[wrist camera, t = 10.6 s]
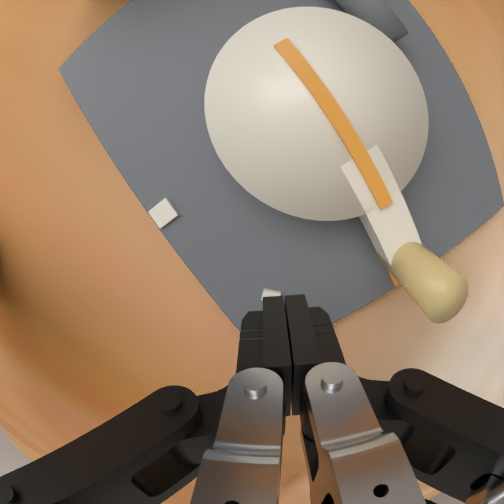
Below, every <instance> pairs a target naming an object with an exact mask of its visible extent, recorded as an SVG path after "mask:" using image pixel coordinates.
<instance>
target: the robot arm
mask: <svg viewBox="0 0 504 504" xmlns="http://www.w3.org/2000/svg"><path fill="white" fill-rule="evenodd" d="M291 406H292V415H300V420H301V431H300V437H301V442H302V447H303V452H304V457H305V462H306V468H307V473H308V478H309V484H310V502H311V504H436V503H434V502H432V501H429V500H427V499H424V497H423V494H422V492H421V489H420V487H419V484H418V482H417V479H418V480H420V481H421V482H423V483H425V484H427V485H429V486H431V487H433V488H435V489H437V490H439V491H441V492H443V493H445V494H447V495H449V496H451V497H454V498H456V499H458V500H460V501H462V502H464V503H465V504H504V408H502V407H500V406H497V405H495V404H493V403H491V402H489V401H486V400H484V399H482V398H480V397H478V396H475V395H473V394H471V393H469V392H467V391H465V390H462V389H460V388H458V387H456V386H454V385H452V384H450V383H448V382H445V381H443V380H441V379H439V378H437V377H435V376H433V375H431V374H429V373H427V372H425V371H422V370H419V369H414V368H409V369H403V370H401V371H398V372H397V373H395V374H394V375H393V376H392V378H391V380H390V381H377V380H368V379H364V378H361V377H359V376H358V375H357V374H356V372H355V371H354V370H353V369H352V368H351V367H349V366H347V365H346V363H345V360H344V357H343V354H342V351H341V348H340V345H339V342H338V339H337V337H336V334H335V331H334V328H333V326H332V322H331V320H330V317H329V314H328V313H327V312H326V311H324V310H323V309H322V308H321V307H309V308H308V304H307V301H306V297H305V294H299V295H284V300H283V296H268V297H263V311H248V313H247V314H246V315H245V316H244V318H243V319H242V322H241V332H240V340H239V350H238V360H237V369H236V375H234V376H233V377H232V378H231V380H230V382H229V384H228V385H227V386H226V387H225V388H223V389H221V390H219V391H216V392H213V393H208V394H204V395H199V396H196V395H195V394H194V393H193V392H192V391H191V390H189V389H188V388H185V387H182V386H166V387H163V388H160V389H158V390H156V391H155V392H153V393H152V394H150V395H149V396H147V397H145V398H144V399H142V400H141V401H139V402H138V403H136V404H134V405H133V406H131V407H130V408H128V409H126V410H125V411H123V412H122V413H120V414H118V415H117V416H115V417H113V418H112V419H110V420H108V421H107V422H105V423H103V424H102V425H100V426H98V427H96V428H95V429H93V430H91V431H90V432H88V433H86V434H84V435H83V436H81V437H79V438H77V439H75V440H74V441H72V442H70V443H68V444H66V445H64V446H63V447H61V448H59V449H57V450H55V451H53V452H51V453H49V454H47V455H45V456H43V457H41V458H39V459H37V460H35V461H33V462H31V463H29V464H27V465H25V466H23V467H21V468H19V469H16V470H14V471H12V472H10V473H8V474H5V475H3V476H1V477H0V504H160V503H162V502H163V501H165V500H166V499H168V498H169V497H170V496H172V495H173V494H175V493H176V492H177V491H179V490H180V489H182V488H183V487H184V486H186V485H187V484H188V483H190V482H191V481H192V480H193V479H195V478H196V477H197V480H196V484H195V487H194V491H193V495H192V499H191V503H190V504H279V496H280V480H281V464H282V446H283V436H284V433H285V417H286V416H290V407H291ZM373 493H375V494H373Z"/></svg>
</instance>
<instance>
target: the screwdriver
mask: <svg viewBox="0 0 504 504" xmlns="http://www.w3.org/2000/svg"><path fill="white" fill-rule="evenodd" d="M335 1H336V2H337V3H338V4H339V5H340V6H341V8H342V9H343V10H344V11H345V12H346V13H347V14H350V15H352V16H355V17H357V18H359V19H361V20H363V21H365V22H367V23H369V24H370V25H372V26H374V27H375V28H377V29H378V30H379V31H381V32H382V33H383V34H385V35H386V36H387V37H388V38H389V39H390V40H392V41H393V42H395V41H397V40H399V39H401V38H402V37H404V36H406V35H407V34H408V33H409V32H408V30H407V29H406V28H405V26H404V25H403V24H402V22H401V21H400V20H399V18H398V17H397V16H396V15H395V13H394V12H393V11H392V10H391V8H390V7H389V6H388V5H387V4H386V2H385V1H384V0H335Z"/></svg>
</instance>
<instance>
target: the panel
mask: <svg viewBox="0 0 504 504" xmlns="http://www.w3.org/2000/svg"><path fill="white" fill-rule="evenodd" d="M384 1H385V2H386V4H387V5H388V6H389V7H390V8H391V10H392V11H393V12H394V13H395V15H396V16H397V17H398V18H399V20H400V21H401V22H402V24H403V25H404V26H405V28H406V29H407V30H408V32H409V33H408V34H407V35H406V36H404V37H402V38H401V39H399V40H397V41H395V42H394V43H395V44H396V46H397V47H398V48H399V49H400V50H401V51H402V52H403V54H404V55H405V56H406V58H407V59H408V60H409V62H410V63H411V65H412V67H413V68H414V70H415V72H416V74H417V76H418V78H419V80H420V83H421V85H422V88H423V91H424V94H425V98H426V102H427V109H428V120H429V129H428V138H427V144H426V148H425V152H424V155H423V158H422V160H421V163H420V165H419V167H418V169H417V171H416V172H415V174H414V176H413V178H412V179H411V180H410V182H409V183H408V184H407V185H406V187H405V188H404V189H403V190H402V191H401V194H402V196H403V198H404V200H405V203H406V205H407V207H408V210H409V212H410V214H411V217H412V219H413V222H414V224H415V227H416V229H417V232H418V235H419V237H420V240H421V243H422V245H423V246H424V247H425V248H427V249H428V250H430V251H431V252H432V253H434V254H435V255H436V256H438V257H440V256H442V255H443V254H444V253H446V252H447V251H449V250H450V249H451V248H453V247H454V246H455V245H457V244H458V243H459V242H461V241H462V240H463V239H465V238H466V237H467V236H468V235H470V234H471V233H472V232H473V231H475V230H476V229H477V228H478V227H480V226H481V225H482V224H483V223H485V222H486V221H487V220H488V219H489V218H491V217H492V216H493V215H494V214H495V213H496V212H498V211H499V210H500V209H501V208H502V207H503V206H504V202H503V197H502V193H501V188H500V184H499V180H498V176H497V172H496V169H495V165H494V162H493V158H492V155H491V152H490V149H489V146H488V143H487V140H486V137H485V134H484V131H483V129H482V126H481V123H480V121H479V118H478V116H477V113H476V111H475V109H474V106H473V104H472V102H471V100H470V98H469V95H468V93H467V91H466V89H465V87H464V85H463V83H462V81H461V79H460V77H459V75H458V73H457V72H456V70H455V68H454V66H453V64H452V63H451V61H450V59H449V57H448V56H447V54H446V52H445V51H444V49H443V48H442V46H441V44H440V43H439V41H438V40H437V38H436V37H435V35H434V34H433V32H432V31H431V29H430V28H429V27H428V25H427V24H426V22H425V21H424V20H423V18H422V17H421V16H420V14H419V13H418V12H417V10H416V9H415V8H414V7H413V5H412V4H411V3H410V2H409V1H408V0H384ZM293 7H321V8H329V9H333V10H337V11H341V12H344V13H346V12H345V11H344V10H343V9H342V8H341V6H340V5H339V4H338V3H337V2H336V1H335V0H132V1H131V2H130V3H128V4H127V5H126V6H124V7H123V8H122V9H121V10H119V11H118V12H117V13H116V14H114V15H113V16H112V17H111V18H110V19H108V20H107V21H106V22H105V23H104V24H103V25H101V26H100V27H99V28H98V29H97V30H96V31H95V32H94V33H93V34H92V35H90V36H89V37H88V38H87V39H86V40H85V41H84V42H83V43H82V44H81V45H80V46H79V47H78V48H77V49H76V50H75V51H74V52H73V53H72V54H71V56H70V57H69V58H68V59H67V60H66V61H65V62H64V63H63V64H62V65H61V67H60V68H59V71H60V73H61V75H62V77H63V78H64V80H65V82H66V84H67V86H68V88H69V89H70V91H71V93H72V95H73V96H74V98H75V100H76V102H77V103H78V105H79V107H80V109H81V110H82V112H83V114H84V115H85V117H86V119H87V121H88V122H89V124H90V126H91V127H92V129H93V130H94V132H95V134H96V135H97V137H98V139H99V140H100V142H101V143H102V145H103V147H104V148H105V150H106V151H107V153H108V154H109V156H110V158H111V159H112V161H113V162H114V164H115V165H116V167H117V168H118V170H119V171H120V173H121V174H122V176H123V177H124V179H125V180H126V182H127V183H128V185H129V186H130V188H131V189H132V191H133V192H134V194H135V195H136V197H137V198H138V200H139V201H140V202H141V204H142V205H143V207H144V208H145V210H146V211H147V212H148V214H149V215H150V217H151V218H152V219H153V221H154V222H155V224H156V225H157V226H158V228H159V229H160V231H161V232H162V233H163V235H164V236H165V237H166V239H167V240H168V241H169V243H170V244H171V245H172V247H173V248H174V249H175V251H176V252H177V253H178V255H179V256H180V257H181V259H182V260H183V261H184V263H185V264H186V265H187V267H188V268H189V269H190V271H191V272H192V273H193V274H194V276H195V277H196V278H197V280H198V281H199V282H200V283H201V285H202V286H203V287H204V288H205V290H206V291H207V292H208V293H209V295H210V296H211V297H212V298H213V300H214V301H215V302H216V303H217V305H218V306H219V307H220V308H221V309H222V311H223V312H224V313H225V314H226V316H227V317H228V318H229V319H230V320H231V322H232V323H233V324H234V325H235V326H236V328H237V329H238V330H239V331H240V332H241V322H242V319H243V318H244V316H245V315H246V314H247V313H248V311H263V297H268V296H283V300H284V295H299V294H305V297H306V301H307V304H308V308H309V307H321V308H322V309H323V310H324V311H326V312H327V313H328V314H329V317H330V320H331V322H332V323H334V322H336V321H338V320H339V319H341V318H343V317H345V316H347V315H348V314H350V313H352V312H354V311H356V310H357V309H359V308H361V307H363V306H364V305H366V304H368V303H369V302H371V301H373V300H374V299H376V298H378V297H379V296H381V295H383V294H384V293H386V292H388V291H389V290H391V289H393V288H394V287H396V286H398V285H399V284H400V283H399V282H398V281H397V280H396V279H395V278H394V276H393V275H392V274H391V273H390V272H389V271H388V270H387V269H386V267H385V266H384V265H383V264H382V263H381V262H380V261H379V259H378V257H377V254H376V250H375V248H374V246H373V244H372V242H371V240H370V237H369V235H368V233H367V231H366V230H365V228H364V226H363V224H362V222H361V220H360V218H359V217H355V218H351V219H346V220H337V221H316V220H310V219H303V218H299V217H296V216H292V215H289V214H286V213H283V212H281V211H279V210H276V209H274V208H272V207H270V206H268V205H267V204H265V203H263V202H261V201H260V200H258V199H257V198H256V197H254V196H253V195H252V194H250V193H249V192H248V191H246V190H245V189H244V188H243V187H242V186H241V185H240V184H239V183H238V182H237V181H236V180H235V179H234V178H233V176H232V175H231V174H230V173H229V172H228V170H227V169H226V168H225V166H224V165H223V163H222V161H221V160H220V158H219V157H218V155H217V153H216V151H215V148H214V146H213V144H212V142H211V139H210V136H209V132H208V129H207V125H206V118H205V111H204V96H205V89H206V82H207V79H208V76H209V72H210V69H211V67H212V65H213V63H214V61H215V59H216V56H217V55H218V53H219V52H220V50H221V49H222V47H223V46H224V45H225V43H226V42H227V41H228V40H229V39H230V38H231V37H232V36H233V35H234V34H235V33H236V32H237V31H238V30H240V29H241V28H242V27H243V26H245V25H246V24H248V23H250V22H251V21H253V20H255V19H256V18H258V17H261V16H263V15H265V14H268V13H270V12H274V11H277V10H281V9H285V8H293Z"/></svg>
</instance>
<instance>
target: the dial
mask: <svg viewBox="0 0 504 504" xmlns="http://www.w3.org/2000/svg"><path fill="white" fill-rule="evenodd" d="M204 111H205V118H206V125H207V129H208V132H209V136H210V139H211V142H212V144H213V146H214V148H215V151H216V153H217V155H218V157H219V158H220V160H221V161H222V163H223V165H224V166H225V168H226V169H227V170H228V172H229V173H230V174H231V175H232V176H233V178H234V179H235V180H236V181H237V182H238V183H239V184H240V185H241V186H242V187H243V188H244V189H245V190H246V191H248V192H249V193H250V194H252V195H253V196H254V197H256V198H257V199H258V200H260V201H261V202H263V203H265V204H267V205H268V206H270V207H272V208H274V209H276V210H279V211H281V212H283V213H286V214H289V215H292V216H296V217H299V218H303V219H310V220H316V221H337V220H346V219H351V218H355V217H359V218H360V220H361V222H362V224H363V226H364V228H365V230H366V231H367V233H368V235H369V237H370V240H371V242H372V244H373V246H374V248H375V250H376V254H377V257H378V259H379V261H380V262H381V263H382V264H383V265H384V266H385V267H386V269H387V270H388V271H389V272H390V273H391V274H392V275H393V276H394V278H395V279H396V280H397V281H398V282H399V283H400V285H401V286H402V287H403V288H404V289H405V290H406V292H407V293H408V294H409V295H410V296H411V297H412V299H413V300H414V301H415V302H416V303H417V305H418V306H419V307H420V308H421V310H422V311H423V312H424V313H425V315H426V316H427V317H428V318H429V320H430V321H432V322H434V323H444V322H446V321H448V320H450V319H452V318H453V317H454V316H455V315H456V314H457V313H458V312H459V311H460V310H461V308H462V307H463V305H464V303H465V301H466V298H467V295H468V284H467V281H466V279H465V278H464V277H463V276H462V275H461V274H459V273H458V272H457V271H456V270H454V269H453V268H452V267H451V266H449V265H448V264H447V263H445V262H444V261H443V260H441V259H440V258H439V257H438V256H436V255H435V254H434V253H432V252H431V251H430V250H428V249H427V248H425V247H424V246H423V245H422V243H421V240H420V237H419V235H418V232H417V229H416V227H415V224H414V222H413V219H412V217H411V214H410V212H409V210H408V207H407V205H406V203H405V200H404V198H403V196H402V194H401V191H402V190H403V189H404V188H405V187H406V185H407V184H408V183H409V182H410V180H411V179H412V178H413V176H414V174H415V172H416V171H417V169H418V167H419V165H420V163H421V160H422V158H423V155H424V152H425V148H426V144H427V138H428V129H429V120H428V109H427V102H426V98H425V94H424V91H423V88H422V85H421V83H420V80H419V78H418V76H417V74H416V72H415V70H414V68H413V67H412V65H411V63H410V62H409V60H408V59H407V58H406V56H405V55H404V54H403V52H402V51H401V50H400V49H399V48H398V47H397V46H396V44H395V43H394V42H393V41H392V40H390V39H389V38H388V37H387V36H386V35H385V34H383V33H382V32H381V31H379V30H378V29H377V28H375V27H374V26H372V25H370V24H369V23H367V22H365V21H363V20H361V19H359V18H357V17H355V16H352V15H350V14H347V13H344V12H341V11H337V10H333V9H329V8H321V7H293V8H285V9H281V10H277V11H274V12H270V13H268V14H265V15H263V16H261V17H258V18H256V19H255V20H253V21H251V22H250V23H248V24H246V25H245V26H243V27H242V28H241V29H240V30H238V31H237V32H236V33H235V34H234V35H233V36H232V37H231V38H230V39H229V40H228V41H227V42H226V43H225V45H224V46H223V47H222V49H221V50H220V52H219V53H218V55H217V56H216V59H215V61H214V63H213V65H212V67H211V69H210V72H209V76H208V79H207V82H206V89H205V96H204Z"/></svg>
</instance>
